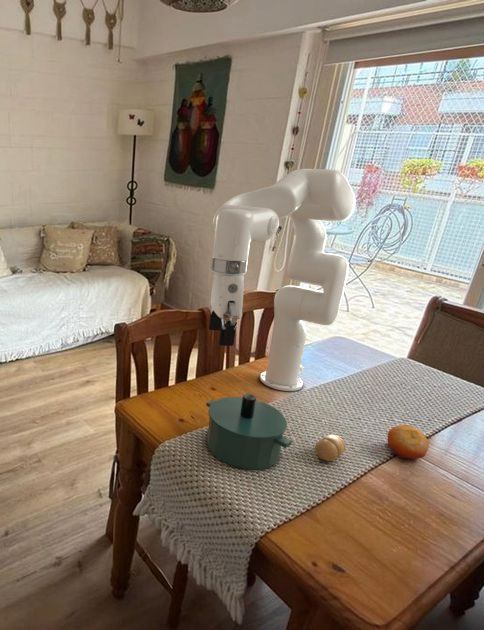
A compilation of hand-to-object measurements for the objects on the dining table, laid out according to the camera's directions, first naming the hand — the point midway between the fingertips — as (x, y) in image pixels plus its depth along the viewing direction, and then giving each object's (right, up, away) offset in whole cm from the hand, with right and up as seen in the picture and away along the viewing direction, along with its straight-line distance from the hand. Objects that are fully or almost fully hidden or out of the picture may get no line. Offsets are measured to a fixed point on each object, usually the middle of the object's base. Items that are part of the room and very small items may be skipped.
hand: (220, 337), depth 103 cm
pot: (+7, -27, +4) cm, 29 cm away
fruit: (+45, -29, +3) cm, 53 cm away
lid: (+7, -19, +2) cm, 21 cm away
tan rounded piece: (+26, -29, +1) cm, 39 cm away
